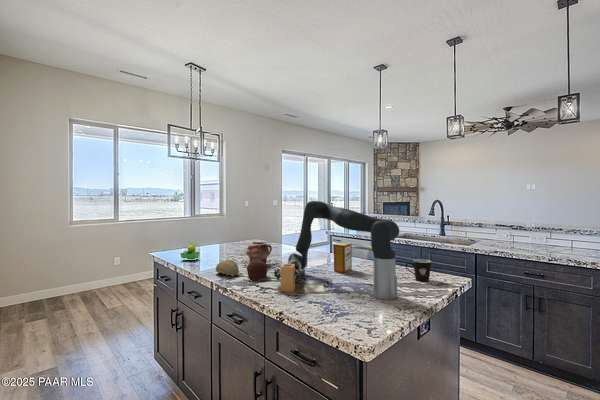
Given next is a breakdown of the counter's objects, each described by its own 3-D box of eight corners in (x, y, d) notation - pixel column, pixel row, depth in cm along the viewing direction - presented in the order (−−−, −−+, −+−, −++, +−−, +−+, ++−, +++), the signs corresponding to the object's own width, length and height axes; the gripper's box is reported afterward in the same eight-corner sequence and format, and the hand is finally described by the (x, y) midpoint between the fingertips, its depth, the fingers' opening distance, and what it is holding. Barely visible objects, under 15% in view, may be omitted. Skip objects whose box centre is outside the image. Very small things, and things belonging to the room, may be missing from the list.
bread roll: (223, 271, 180) (223, 257, 180) (243, 274, 172) (243, 260, 172) (211, 274, 171) (211, 260, 171) (231, 278, 164) (231, 263, 164)
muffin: (242, 279, 161) (241, 261, 160) (258, 275, 169) (258, 257, 168) (256, 284, 152) (256, 264, 152) (273, 279, 161) (272, 260, 160)
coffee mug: (433, 279, 157) (433, 260, 157) (427, 283, 151) (427, 263, 151) (411, 275, 165) (411, 257, 165) (404, 279, 159) (404, 260, 159)
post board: (323, 287, 147) (323, 265, 147) (327, 297, 133) (326, 273, 133) (277, 288, 146) (277, 266, 146) (276, 298, 132) (276, 274, 132)
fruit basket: (179, 261, 207) (179, 244, 207) (186, 258, 216) (186, 242, 215) (195, 261, 205) (194, 244, 205) (201, 258, 214) (201, 242, 214)
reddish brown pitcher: (264, 260, 207) (264, 239, 207) (277, 262, 199) (277, 241, 199) (241, 265, 192) (241, 243, 191) (254, 268, 184) (254, 245, 184)
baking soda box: (341, 268, 183) (341, 241, 183) (351, 269, 180) (351, 242, 179) (334, 271, 176) (333, 244, 175) (344, 273, 172) (344, 245, 171)
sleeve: (283, 287, 142) (282, 263, 142) (295, 287, 142) (294, 264, 141) (280, 291, 137) (280, 266, 137) (293, 291, 136) (292, 267, 136)
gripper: (279, 260, 154) (271, 268, 138) (307, 261, 152) (302, 269, 136) (279, 275, 155) (272, 285, 138) (307, 276, 153) (303, 286, 137)
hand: (287, 277), depth 137 cm, fingers open, 8 cm apart
